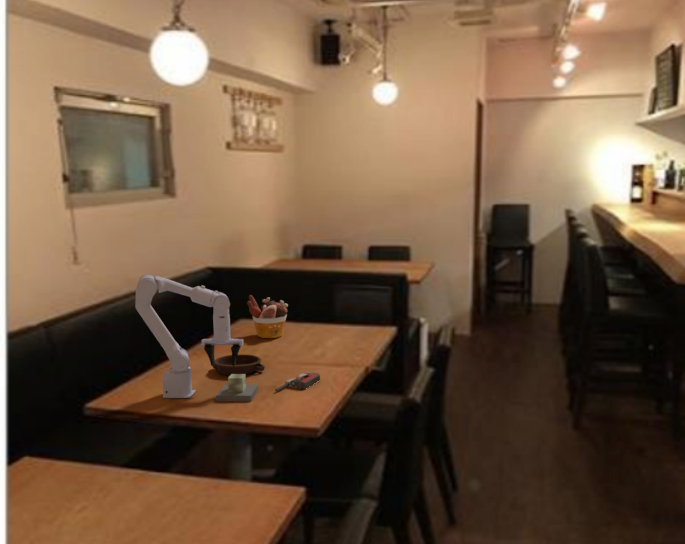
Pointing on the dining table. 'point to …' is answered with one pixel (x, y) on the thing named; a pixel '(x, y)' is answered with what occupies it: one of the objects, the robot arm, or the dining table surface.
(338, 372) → the dining table surface
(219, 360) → the dish
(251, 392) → the stand
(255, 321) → the bucket of meat
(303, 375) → the walkie-talkie
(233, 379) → the cube
